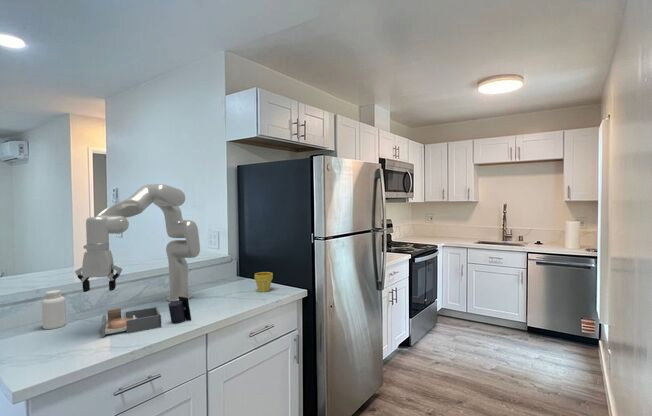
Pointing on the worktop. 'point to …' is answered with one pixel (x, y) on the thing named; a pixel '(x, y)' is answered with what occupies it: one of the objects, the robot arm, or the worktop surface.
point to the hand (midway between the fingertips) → (99, 290)
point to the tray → (107, 331)
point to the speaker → (179, 310)
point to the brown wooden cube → (114, 314)
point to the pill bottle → (53, 310)
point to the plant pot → (263, 281)
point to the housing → (143, 319)
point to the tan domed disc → (117, 323)
